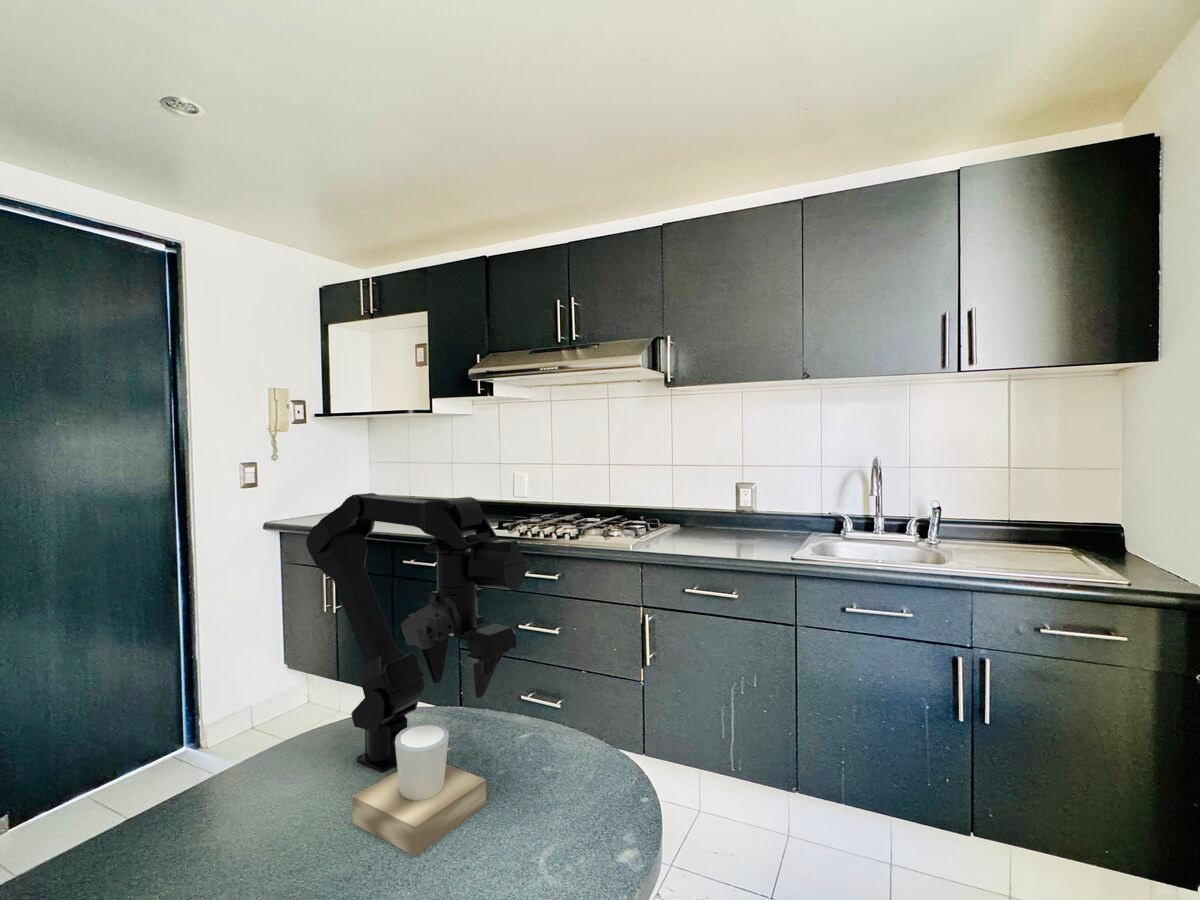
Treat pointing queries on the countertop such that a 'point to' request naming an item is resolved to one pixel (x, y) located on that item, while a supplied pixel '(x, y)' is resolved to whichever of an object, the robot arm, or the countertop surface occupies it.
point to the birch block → (418, 810)
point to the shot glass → (421, 760)
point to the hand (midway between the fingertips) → (457, 689)
